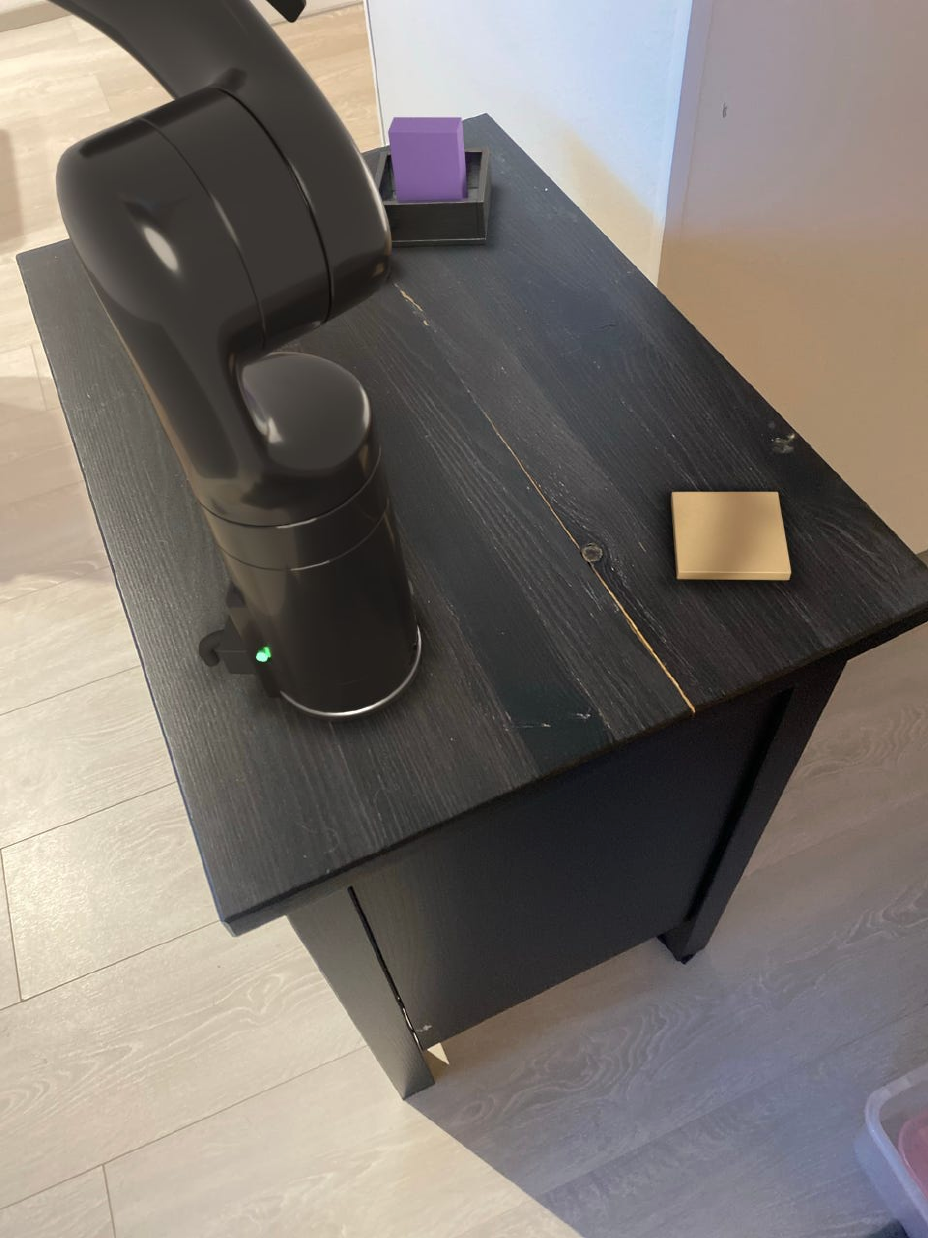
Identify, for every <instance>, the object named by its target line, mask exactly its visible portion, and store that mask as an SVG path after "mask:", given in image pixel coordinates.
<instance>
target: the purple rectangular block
mask: <svg viewBox="0 0 928 1238" xmlns="http://www.w3.org/2000/svg"><path fill="white" fill-rule="evenodd" d="M387 136H388V140H389V149H390V150H389V151H391V157H392V165H393V172H394V179H395V186H396V193H397V200H398V201H399V200H430V199H461V198H468V193H467V180H466V167H465V154H464V148H465V142H464V141H465V140H464V127H463V117H462V116H461V117H460V116H459V117H457V116H456V117H451V116H448V117H445V116H443V117H442V116H441V117H440V116H439V117H438V116H437V117H436V116H429V117H428V116H427V117H425V116H424V117H423V116H394V117H393V118H392V121H391V123H390V125H389V128H388V131H387Z"/></svg>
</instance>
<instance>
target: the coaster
mask: <svg viewBox="0 0 928 1238" xmlns="http://www.w3.org/2000/svg"><path fill="white" fill-rule="evenodd" d="M670 507H671V508H670V509H671V521H672V535H673V547H674V561H675V573H676V579H677V580H720V581H721V580H726V581H727V580H730V581H732V580H734V581H735V580H736V581H737V580H738V581H751V580H752V581H789V580H790V578H791V574H792V568H791V562H790V557H789V556H790V555H789V550H788V544H787V539H786V534H785V533H786V532H785V528H784V526H785V525H784V521H783V516H782V515H783V514H782V508H781V503H780V497H779V492H778V491H672V492H671V496H670Z"/></svg>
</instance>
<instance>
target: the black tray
mask: <svg viewBox="0 0 928 1238" xmlns="http://www.w3.org/2000/svg"><path fill="white" fill-rule="evenodd" d="M464 154H465V167H466V180H467V193H468V198H461V199H430V200H399V201H398V200H397V193H396V186H395V179H394V172H393V165H392V157H391V150H388V151H387V150H385V151H384V150H383V151H381V152H380V156H379V161H378V165H377V169H376V173H375V176H374V180H375V183H376V185H377V188H378V190H379V193H380V195H381V198H382V201H383V204H384V207H385V211H386V214H387V217H388V221H389V225H390V230H391V237H392V248H398V247H399V248H400V247H405V248H406V247H437V246H438V247H439V246H440V247H441V246H473V245H474V246H475V245H476V246H477V245H479V246H480V245H487V238H488V230H489V229H488V227H489V219H490V209H491V200H492V174H491V158H490V157H491V156H490V154H491V153H490V147H464Z"/></svg>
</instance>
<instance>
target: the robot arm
mask: <svg viewBox="0 0 928 1238" xmlns="http://www.w3.org/2000/svg"><path fill="white" fill-rule="evenodd" d="M45 1H47V2H48V3H50V4H53V5H54V6H56V7H58V8H60V9H61V10H63V11H65V12H67V13H68V14H71V16H74V17H76V18H77V19H79V20H81V21H82V22H84V23H86V24H88V25H89V26H91V27H92V28H94V29H95V30H97V31H98V32H100V33H101V34H102V35H104V36H105V37H107V38H109V40H111V41H112V42H113V43H115V44H116V45H117V46H118V47H120V48H121V49H122V50H123V51H124V52H126V53H127V54H128V55H129V56H130V57H132V58H133V59H134V60H135V61H136V62H137V63H138V64H139V65H140V66H141V67H142V68H143V69H144V70H145V71H147V72H148V74H149V75H150V76H151V77H152V78H154V80H155V81H156V82H157V83H158V84H159V85H160V86H161V88H163V89H164V91H166V93H167V94H168V95H169V96H170V98H172V99H173V100H171V101H168V102H166V103H164V104H162V105H159V106H157V107H155V108H152V109H150V110H147V111H144V112H142V113H140V114H138V115H136V116H133V117H131V118H129V119H126V120H123V121H121V122H119V123H116V124H113V125H111V126H108V127H107V128H104V129H101V130H99V131H97V132H95V133H92V134H91V135H88V136H86V137H84V138H82V139H80V140H78V141H76V142H75V143H74V144H71V146H69V147H67V148H66V149H65V150H64V152H63V153H62V154H61V155H60V157H59V160H58V162H57V164H56V171H55V188H56V198H57V201H58V206H59V211H60V215H61V219H62V222H63V224H64V227H65V230H66V232H67V235H68V238H69V240H70V243H71V246H72V249H73V250H74V253H75V254H76V257H77V259H78V261H79V263H80V265H81V267H82V269H83V272H84V273H85V275H86V278H87V279H88V282H89V283H90V286H91V288H92V289H93V292H94V294H95V296H96V297H97V299H98V301H99V303H100V305H101V307H102V308H103V310H104V312H105V314H106V316H107V318H108V319H109V321H110V324H111V325H112V327H113V329H114V331H115V334H116V335H117V337H118V338H119V340H120V342H121V344H122V346H123V348H124V350H125V352H126V354H127V356H128V358H129V361H130V362H131V364H132V367H133V368H134V370H135V372H136V374H137V376H138V378H139V380H140V382H141V384H142V386H143V388H144V390H145V393H146V395H147V397H148V399H149V401H150V404H151V406H152V409H153V410H154V412H155V414H156V416H157V420H158V421H159V423H160V425H161V428H162V429H163V432H164V434H165V435H166V438H167V439H168V442H169V444H170V446H171V448H172V449H173V451H174V453H175V455H176V457H177V460H178V462H179V465H180V466H181V467H182V470H183V472H184V475H185V477H186V479H187V482H188V484H189V488H190V489H191V491H192V493H193V496H194V498H195V500H196V502H197V505H198V507H199V509H200V512H201V514H202V516H203V518H204V521H205V524H206V525H207V528H208V530H209V533H210V534H211V536H212V538H213V541H214V543H215V545H216V548H217V550H218V552H219V554H220V557H221V559H222V561H223V564H224V566H225V568H226V571H227V573H228V575H229V581H228V584H227V588H226V591H225V595H224V605H225V608H226V611H227V612H228V615H227V619H226V622H225V626H224V628H223V629H220V630H216V631H213V632H211V633H208V634H207V635H206V636H204V637H203V638H202V639H201V640H200V641H199V644H198V654H199V657H200V658H201V660H202V661H203V663H204V665H205V666H207V667H208V668H210V667H211V668H213V667H215V666H217V665H219V663H220V657H221V659H222V661H223V663H224V665H225V667H226V669H227V671H228V673H229V675H257V678H258V680H259V682H260V684H261V687H262V689H263V690H264V694H265V695H266V696H267V698H273V699H275V698H276V699H277V698H278V699H283V700H284V701H285V702H286V703H287V704H288V705H289V706H290V707H291V708H293V709H294V710H296V711H297V712H298V713H300V714H302V715H305V716H307V717H309V718H312V719H315V720H319V721H323V722H333V723H339V722H341V723H343V722H352V721H357V720H361V719H365V718H368V717H372V716H373V715H376V714H378V713H380V712H382V711H384V710H385V709H387V708H389V707H391V706H392V705H393V704H395V703H396V702H397V701H398V700H400V699H401V698H402V696H403V695H405V693H406V692H407V691H408V690H409V689H410V687H412V684H413V683H414V681H415V679H416V678H417V676H418V673H419V671H420V667H421V665H422V660H423V643H422V637H421V632H420V628H419V626H418V621H417V617H416V614H415V609H414V604H413V598H412V596H415V594H414V587H413V583H412V582H411V581H410V580H409V579H408V574H407V568H406V563H405V558H404V554H403V549H402V543H401V537H400V533H399V529H398V523H397V517H396V513H395V508H394V503H393V499H392V493H391V488H390V482H389V478H388V473H387V468H386V463H385V457H384V453H383V447H382V443H381V438H380V433H379V432H380V431H379V428H378V422H377V418H376V417H377V416H376V413H375V409H374V405H373V403H372V399H371V397H370V395H369V393H368V391H367V389H366V388H365V387H364V384H363V383H362V382H361V380H360V379H359V378H358V377H357V376H356V375H355V374H354V373H352V372H351V371H349V369H347V368H346V367H344V366H343V365H341V364H339V363H338V362H335V361H334V360H332V359H328V358H327V357H323V356H321V355H317V354H312V353H307V352H302V351H292V350H291V351H289V350H288V351H287V350H282V351H281V350H279V349H282V348H284V347H285V346H287V345H288V344H290V343H293V342H294V341H296V340H298V339H300V338H302V337H303V336H305V335H307V334H309V333H310V332H311V333H312V332H313V331H314V330H317V329H319V328H320V327H321V326H323V325H325V324H326V323H328V322H330V321H332V320H333V319H335V318H337V317H339V316H340V315H343V314H344V313H346V312H348V311H350V310H351V309H354V308H355V307H357V306H358V305H360V304H362V303H363V302H365V301H366V300H368V299H369V298H370V297H372V296H373V295H374V294H375V293H377V292H378V291H379V290H380V289H381V288H382V286H383V285H384V284H385V282H386V280H387V278H388V277H389V276H388V274H389V271H390V268H391V269H392V267H391V266H392V262H393V247H392V237H391V230H390V225H389V221H388V217H387V214H386V211H385V207H384V204H383V201H382V198H381V195H380V193H379V190H378V188H377V185H376V183H375V177H374V175H373V174H372V171H371V170H370V168H369V165H368V163H367V161H366V160H365V158H364V156H363V154H362V152H361V151H360V149H359V147H358V144H357V143H356V141H355V139H354V137H353V136H352V135H351V133H350V131H349V130H348V128H347V126H346V125H345V123H344V121H343V120H342V119H341V116H340V115H339V114H338V112H337V111H336V110H335V108H334V106H333V105H332V104H331V103H330V101H329V100H328V98H327V97H326V95H325V94H324V93H323V91H322V90H321V89H320V87H319V86H318V84H317V83H316V81H314V79H313V77H312V76H311V75H310V73H308V71H307V70H306V69H305V67H304V66H303V65H302V64H301V62H300V61H299V60H298V58H297V57H296V56H295V55H294V53H293V52H292V51H291V49H290V48H289V47H288V46H287V44H286V43H285V42H284V40H283V39H282V38H281V36H280V35H279V34H278V33H277V32H276V30H275V29H274V28H273V26H272V25H271V24H270V23H269V21H267V19H266V18H265V16H264V15H262V13H261V12H260V11H259V9H258V8H257V7H256V6H255V4H254V3H253V2H252V1H251V0H45ZM265 1H266V2H267V3H268V4H269V5H270V6H271V7H272V8H273V9H274V10H276V12H278V14H279V15H281V17H283V18H284V19H285V20H286V21H287V22H289V23H290V24H294V23H296V21H297V20H298V18H299V17H300V15H301V14H302V13H303V11H304V9H305V8H306V6H307V0H265ZM387 276H388V277H387ZM278 350H279V351H278ZM217 647H219V648H218V653H219V654H218V653H217V652H216V650H215V648H217ZM219 655H220V657H219Z"/></svg>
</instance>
